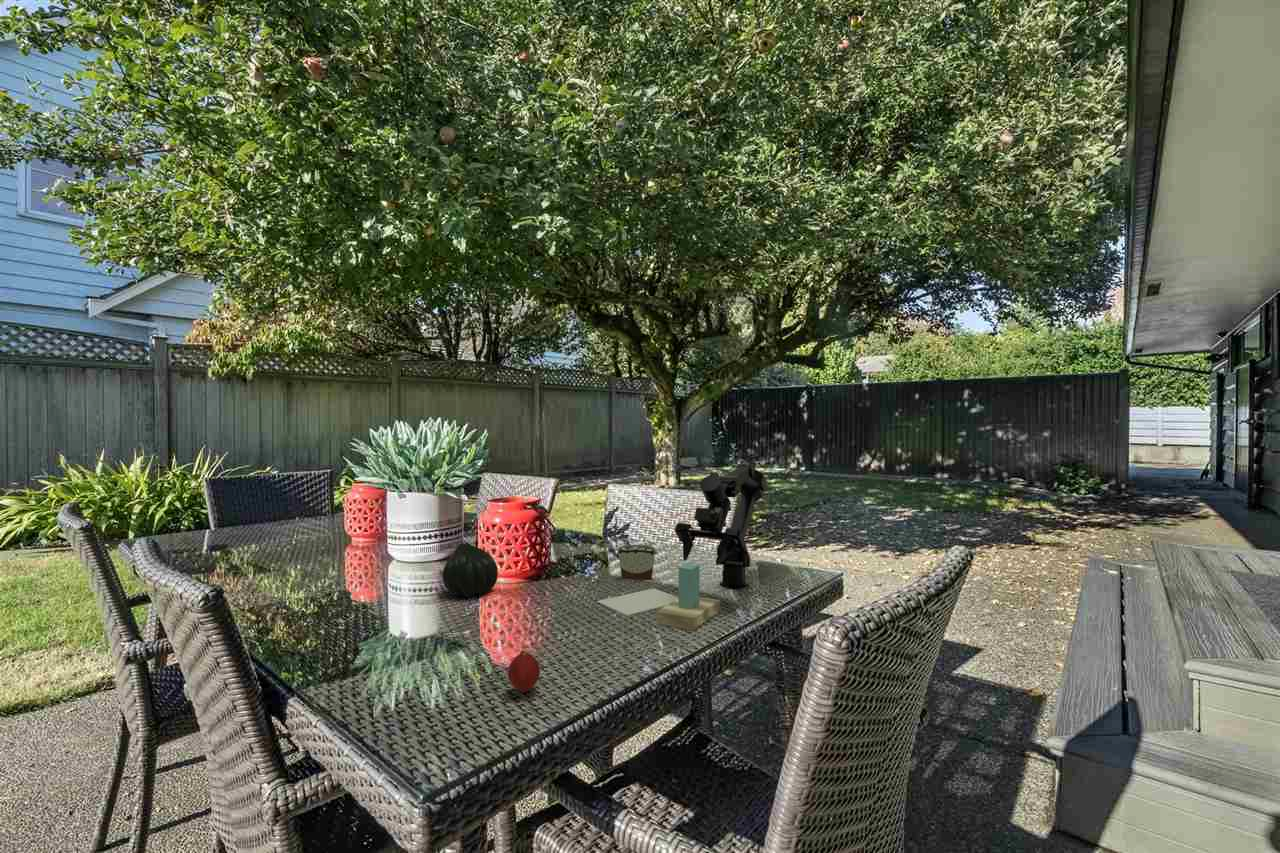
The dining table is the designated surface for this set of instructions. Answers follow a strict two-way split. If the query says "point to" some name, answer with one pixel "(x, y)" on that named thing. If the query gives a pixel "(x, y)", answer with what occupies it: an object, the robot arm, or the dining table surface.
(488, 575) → the squash
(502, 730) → the dining table surface
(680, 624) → the plate
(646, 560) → the food container
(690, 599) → the tall teal block
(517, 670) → the onion
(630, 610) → the mat
